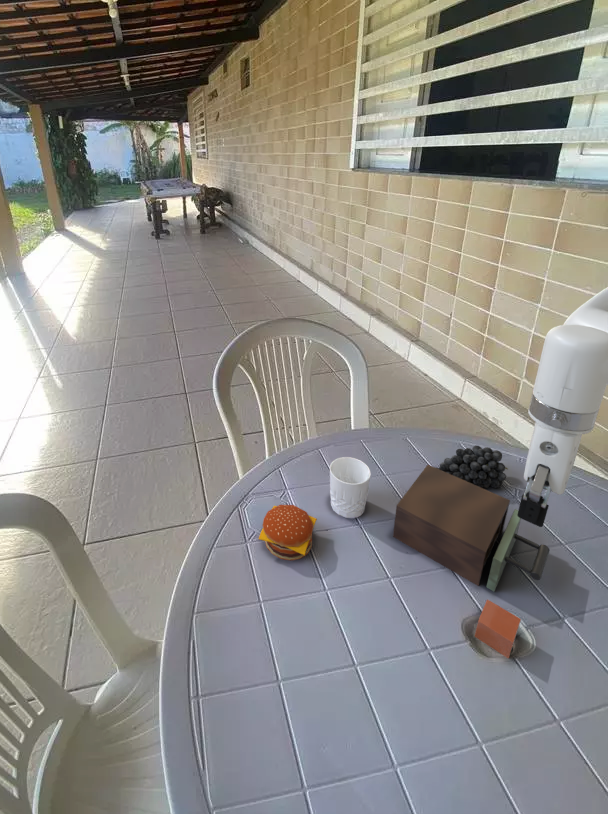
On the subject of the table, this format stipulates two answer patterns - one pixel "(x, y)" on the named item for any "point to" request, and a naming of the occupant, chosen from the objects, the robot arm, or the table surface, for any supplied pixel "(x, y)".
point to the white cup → (349, 486)
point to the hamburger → (288, 532)
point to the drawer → (505, 550)
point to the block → (497, 628)
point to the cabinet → (450, 521)
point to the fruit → (476, 466)
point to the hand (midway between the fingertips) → (536, 502)
